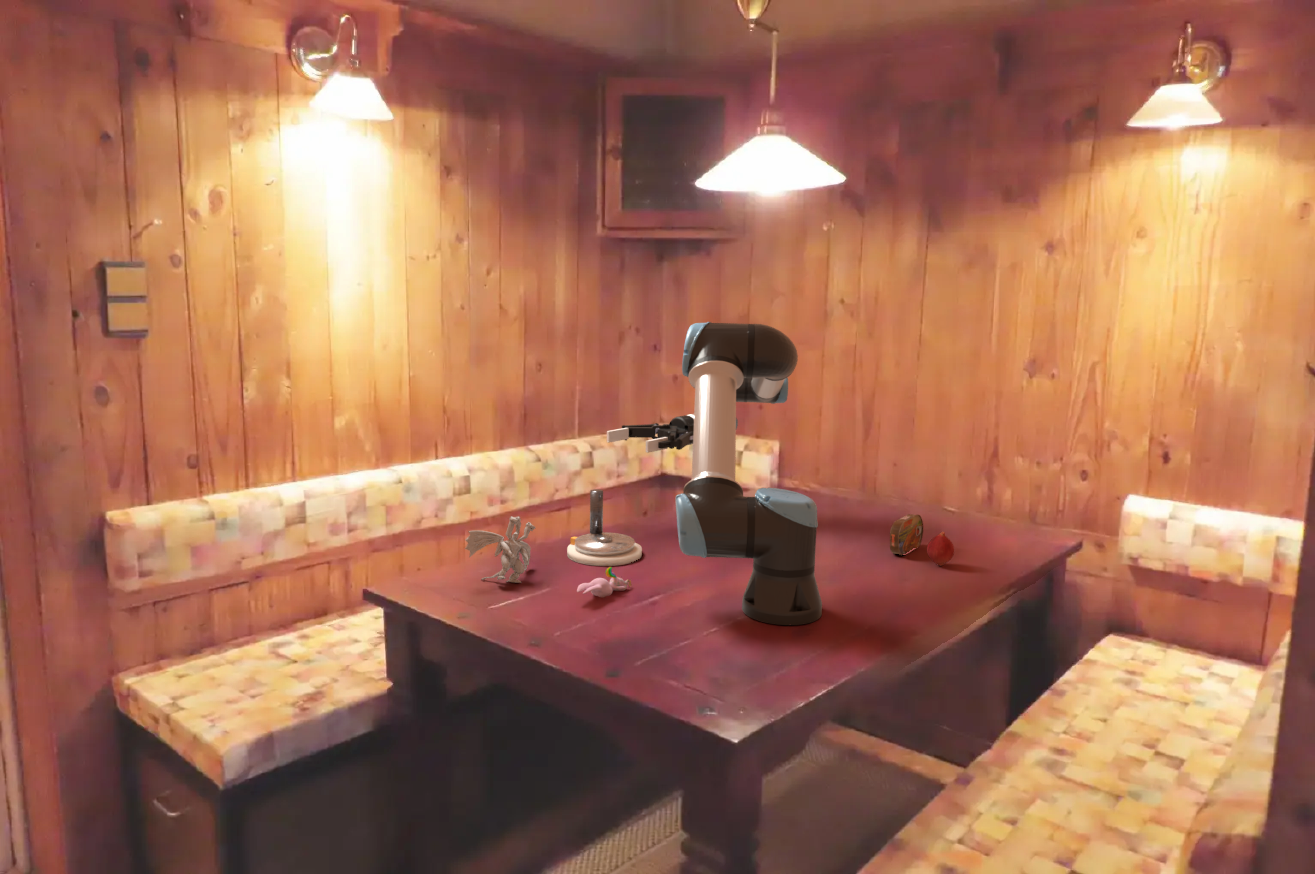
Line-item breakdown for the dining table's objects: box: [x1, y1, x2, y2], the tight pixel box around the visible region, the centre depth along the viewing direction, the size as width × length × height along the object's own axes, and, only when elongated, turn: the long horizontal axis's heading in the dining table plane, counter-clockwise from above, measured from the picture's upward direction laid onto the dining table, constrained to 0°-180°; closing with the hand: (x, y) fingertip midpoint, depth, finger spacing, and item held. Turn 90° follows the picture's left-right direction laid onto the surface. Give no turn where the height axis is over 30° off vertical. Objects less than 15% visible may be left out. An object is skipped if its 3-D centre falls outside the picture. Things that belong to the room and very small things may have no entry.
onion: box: [926, 531, 955, 566], centre depth 205 cm, size 6×6×8 cm
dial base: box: [566, 536, 643, 567], centre depth 209 cm, size 17×17×3 cm
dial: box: [575, 488, 636, 556], centre depth 208 cm, size 14×14×12 cm
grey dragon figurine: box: [464, 515, 536, 584], centre depth 190 cm, size 10×18×14 cm, turn 136°
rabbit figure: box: [576, 566, 633, 598], centre depth 182 cm, size 6×6×15 cm
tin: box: [889, 513, 924, 556], centre depth 216 cm, size 15×3×8 cm, turn 143°
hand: (626, 441), depth 216 cm, fingers open, 13 cm apart
